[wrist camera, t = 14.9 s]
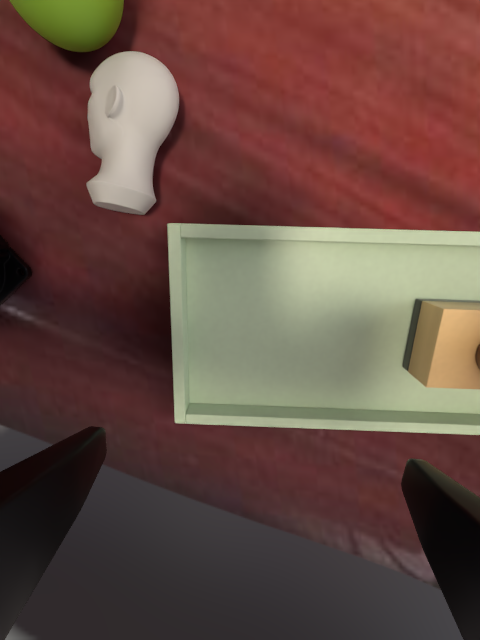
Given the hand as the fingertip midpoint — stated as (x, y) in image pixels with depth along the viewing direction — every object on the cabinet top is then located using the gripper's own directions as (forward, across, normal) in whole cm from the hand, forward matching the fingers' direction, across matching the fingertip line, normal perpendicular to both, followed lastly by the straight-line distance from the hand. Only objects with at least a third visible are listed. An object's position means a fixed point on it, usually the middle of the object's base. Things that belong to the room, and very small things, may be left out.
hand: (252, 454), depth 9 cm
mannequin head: (+13, +8, -11) cm, 19 cm away
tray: (+13, -7, 0) cm, 15 cm away
